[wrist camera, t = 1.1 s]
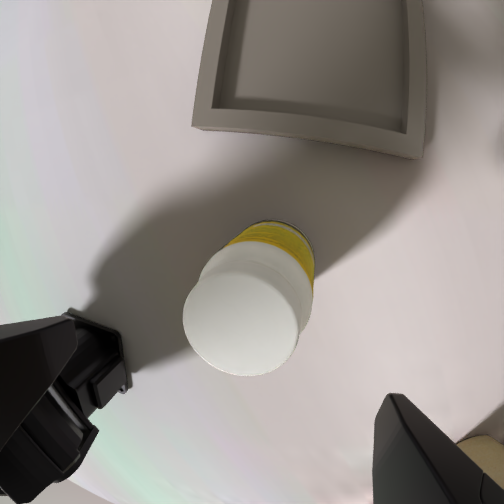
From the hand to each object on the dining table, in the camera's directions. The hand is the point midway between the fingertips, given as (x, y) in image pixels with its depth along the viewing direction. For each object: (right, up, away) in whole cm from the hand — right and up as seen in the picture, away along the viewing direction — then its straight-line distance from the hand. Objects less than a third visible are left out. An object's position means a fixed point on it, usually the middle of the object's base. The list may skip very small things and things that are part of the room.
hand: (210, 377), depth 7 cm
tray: (+5, +15, +7) cm, 17 cm away
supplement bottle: (+2, +3, +11) cm, 11 cm away
